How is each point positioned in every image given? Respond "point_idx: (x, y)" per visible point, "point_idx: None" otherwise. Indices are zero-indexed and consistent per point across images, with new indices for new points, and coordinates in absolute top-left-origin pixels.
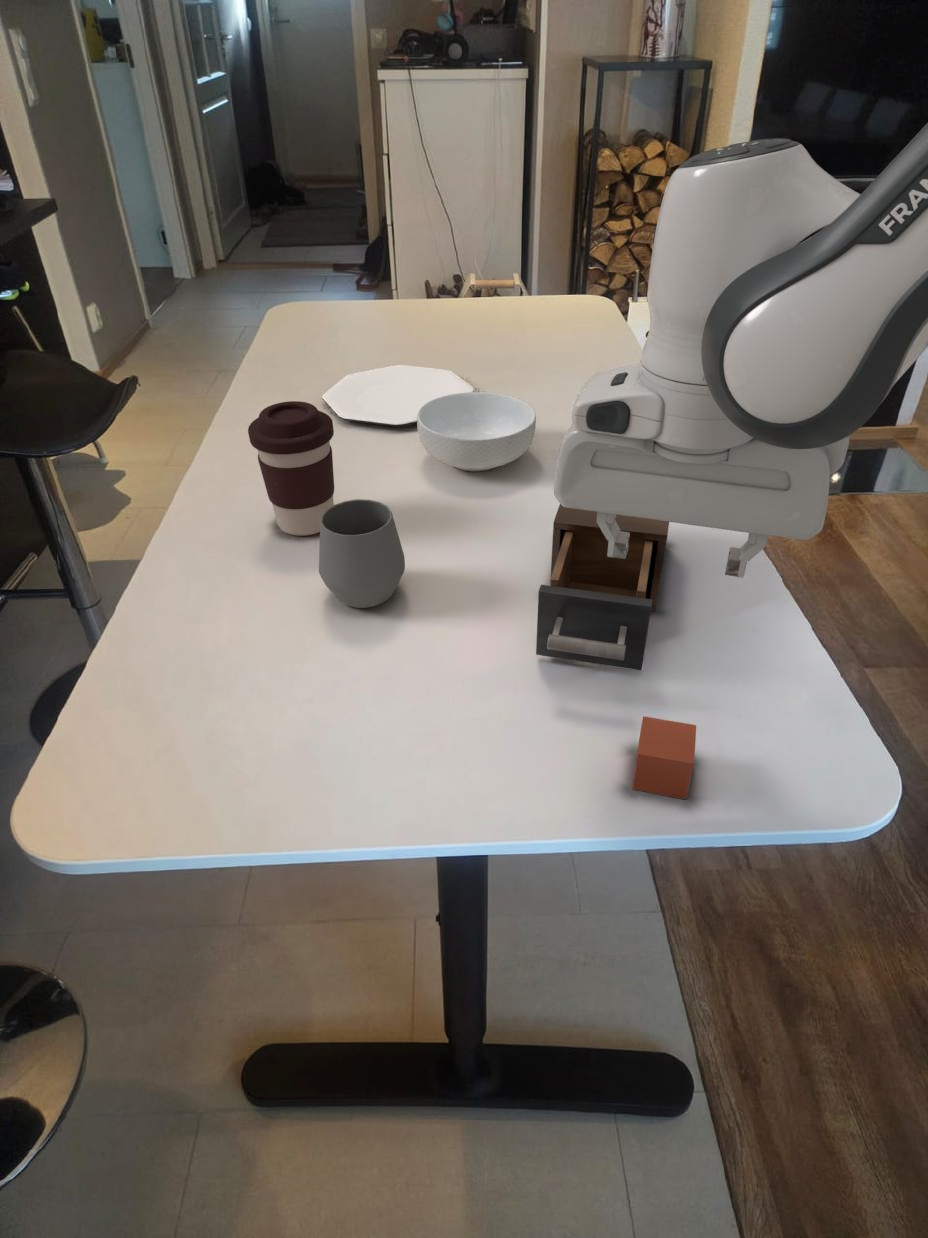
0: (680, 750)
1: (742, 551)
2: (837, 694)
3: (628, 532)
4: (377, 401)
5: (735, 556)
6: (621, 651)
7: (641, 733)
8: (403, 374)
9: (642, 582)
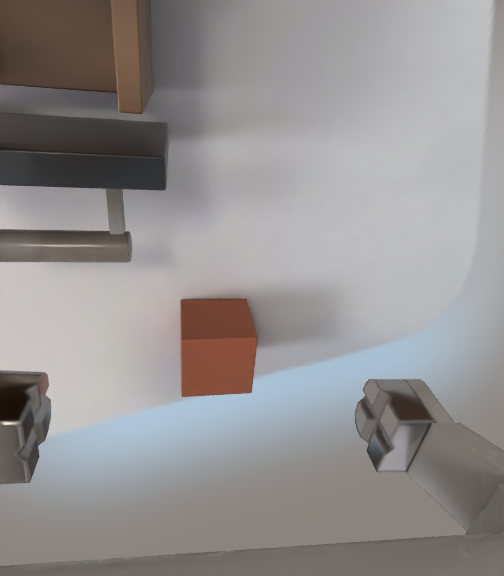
0: (235, 380)
1: (429, 463)
2: (479, 124)
3: (14, 425)
4: None
5: (401, 460)
6: (122, 261)
7: (182, 367)
8: None
9: (127, 65)
